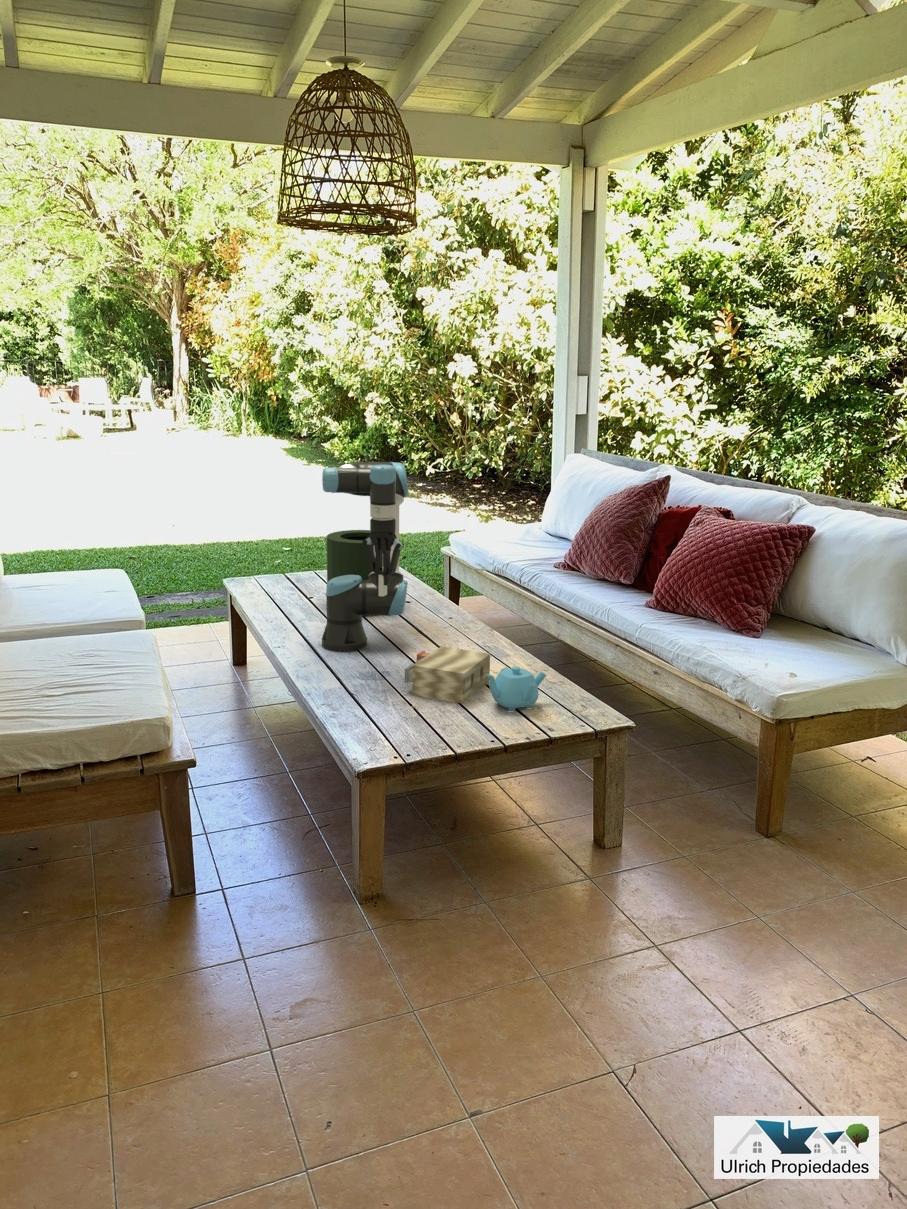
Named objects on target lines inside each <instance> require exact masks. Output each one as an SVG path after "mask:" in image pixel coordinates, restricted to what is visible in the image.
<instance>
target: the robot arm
mask: <svg viewBox="0 0 907 1209" xmlns="http://www.w3.org/2000/svg"><path fill="white" fill-rule="evenodd" d="M321 477H322V480H321V481H322V490H323V491H324V492H325V493H332V494H335V493H336V494H337V493H338V494H339V493H340V494H342V493H343V494H349V495H353V496H359V497H369V501H370V503H369V504H370V505H369V506H370V507H369V510H370V511H369V512H370V513H369V514H370V517H371V518H370V519H369V521H370V522H369V524H370V525H369V530H371V533H370V535H369V538H367V539H365V540H363V541H362V542H363V544H364V546H365V548H366V553H367V558H368V562H369V567H370V571H371V573H370V574H369V580H362V578H361V576H359V575H344V576H339V577H335V578H333V579H331V580H329V581H328V583H327V582H326V591H325V592H326V593H325V596H326V625H325V627H324V631H323V634H322V637H321V646H322V648H324V649H325V650H328V651H333V652H354V651H359V650H363V649H364V648H366V647H367V646H368V638H367V635H366V631H365V628H364V625H363V617H362V615H380V616H385V617H386V616H388V617H391V616H401V615H403V613H404V611H405V608H406V602H407V601H406V600H407V592H408V580H405V579H404V574H402V572H401V571H400V554H401V550H402V549H403V547H404V545H405V544H404V542H402V541H400V505H402V504H403V503H404V500H405V498H406V497H408V495H409V489H408V480H407V472H406V467H405V464H403V463H402V462H393V461H384V462H383V461H355V462H351V463H347V464H343V465H340V466H339V467H335V466H332V467H325V468H323V469H322V476H321ZM372 543H373V544H374V550H373V546H372Z"/></svg>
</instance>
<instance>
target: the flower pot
mask: <svg viewBox="0 0 907 1209" xmlns="http://www.w3.org/2000/svg"><path fill="white" fill-rule="evenodd" d="M370 533H371V530H370V529H351V530H350V529H348V530H339V531H333V532H331V533H330V532H329V534H327V535H326V584H327V583H328V581H329V580H331V579H333V578H335V577H339V576H344V575H359V576H361V578H362V580H369V574H370V573H371V571H370V567H369V562H368V558H367V553H366V548H365V546H364V544H363V542H362V541H363V540H365V539H367V538H369V535H370ZM372 546H373V550H374V544H373V543H372ZM379 616H380V615H362V618H370V617H371V618H372V617H379Z"/></svg>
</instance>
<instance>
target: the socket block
mask: <svg viewBox="0 0 907 1209" xmlns="http://www.w3.org/2000/svg"><path fill="white" fill-rule="evenodd" d="M429 653H430V654H429V655H427V656H426V657H424V658H423V659H421V660H420V661H418V662H417V663H414V664H412V666H413V670H412V682H411V683H412V687H411V689H412V690H411V692H412V694H411V695H412V696H418V697H423V698H428V699H435V700H441V701H445V702H451V703H456V704H462V705H463V704H464V703H466V702H467V701H468V700H470V699H471V698H472V697H473V696H474V695H476V694H477V693H478V692H479V691H481V690H482V689H483V688H484V687H485V686H486V685H489V684H490V680H489V678H488V676H486V675H485V674H489V675H491V673H490V670H491V669H490V668H491V653H487V652H481V651H474V650H470V649H469V650H468V649H462V648H454V647H449V646H448V647H447V646H440V647H438V648H436V649H435V650H434V651H432V652H429Z"/></svg>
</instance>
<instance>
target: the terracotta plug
mask: <svg viewBox="0 0 907 1209" xmlns="http://www.w3.org/2000/svg"><path fill="white" fill-rule="evenodd" d="M430 653H431V652H427V651H425V650H421V651H419V652H418V653H416V659H415V660H416V662H417V661H418V660H420V659H423V658H424V657H426V656H427V655H429V654H430Z"/></svg>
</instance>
